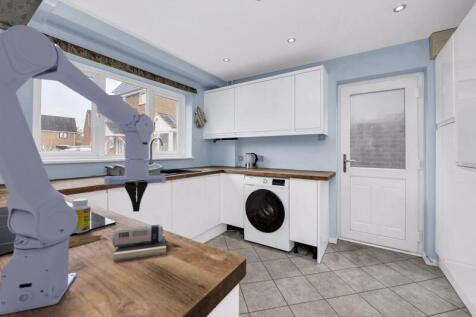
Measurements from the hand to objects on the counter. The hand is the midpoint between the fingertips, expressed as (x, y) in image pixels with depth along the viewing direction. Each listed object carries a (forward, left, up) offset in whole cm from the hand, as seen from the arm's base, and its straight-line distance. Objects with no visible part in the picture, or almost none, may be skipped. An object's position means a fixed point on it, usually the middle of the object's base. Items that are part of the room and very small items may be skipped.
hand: (136, 210), depth 57 cm
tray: (-1, -1, -10) cm, 10 cm away
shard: (+11, +17, -11) cm, 23 cm away
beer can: (+1, +6, -7) cm, 9 cm away
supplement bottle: (+20, +18, -10) cm, 29 cm away
